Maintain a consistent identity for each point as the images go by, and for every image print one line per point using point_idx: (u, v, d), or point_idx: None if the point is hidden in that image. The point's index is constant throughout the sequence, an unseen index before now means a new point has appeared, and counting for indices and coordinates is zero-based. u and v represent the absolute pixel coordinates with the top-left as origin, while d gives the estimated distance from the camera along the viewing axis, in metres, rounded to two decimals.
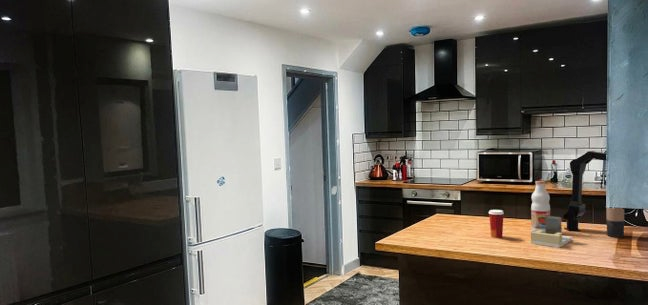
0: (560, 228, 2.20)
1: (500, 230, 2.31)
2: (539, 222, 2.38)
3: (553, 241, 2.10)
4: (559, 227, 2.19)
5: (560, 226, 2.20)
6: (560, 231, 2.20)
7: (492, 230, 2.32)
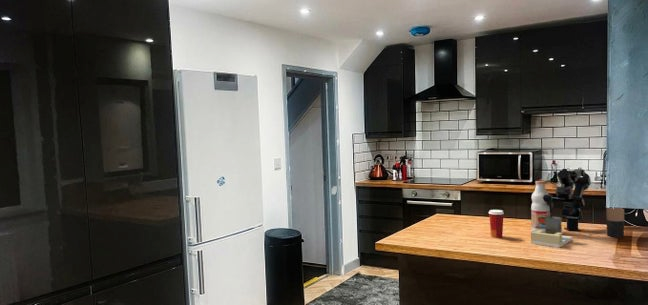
0: (560, 228, 2.20)
1: (500, 230, 2.31)
2: (539, 222, 2.38)
3: (553, 241, 2.10)
4: (559, 227, 2.19)
5: (560, 226, 2.20)
6: (560, 231, 2.20)
7: (492, 230, 2.32)
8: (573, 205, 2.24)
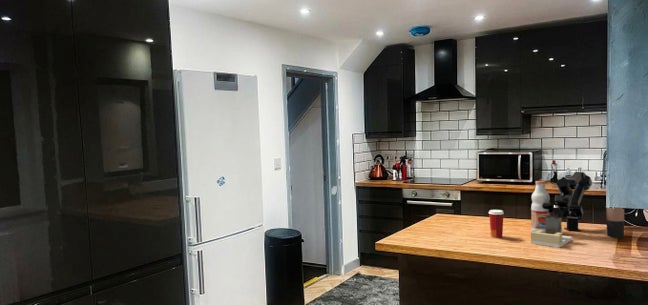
0: (560, 228, 2.20)
1: (500, 230, 2.31)
2: (539, 222, 2.38)
3: (553, 241, 2.10)
4: (559, 227, 2.19)
5: (560, 226, 2.20)
6: (560, 231, 2.20)
7: (492, 230, 2.32)
8: (562, 213, 2.28)
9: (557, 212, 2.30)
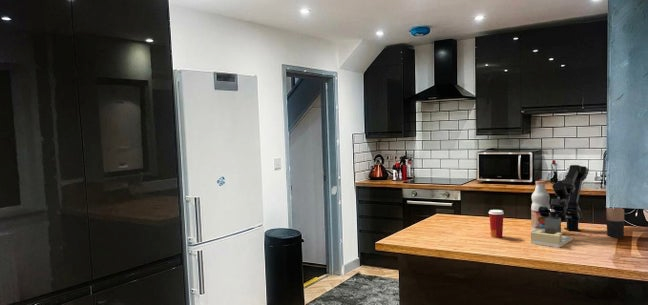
0: (560, 228, 2.20)
1: (500, 230, 2.31)
2: (539, 222, 2.38)
3: (553, 241, 2.10)
4: (559, 227, 2.19)
5: (560, 226, 2.20)
6: (560, 231, 2.20)
7: (492, 230, 2.32)
8: (559, 217, 2.24)
9: (553, 216, 2.26)
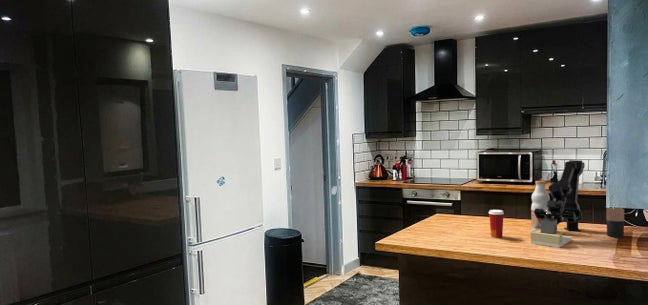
0: (556, 230, 2.16)
1: (500, 230, 2.31)
2: (539, 222, 2.38)
3: (553, 241, 2.10)
4: (555, 229, 2.14)
5: (556, 228, 2.16)
6: None
7: (492, 230, 2.32)
8: None
9: (549, 218, 2.21)
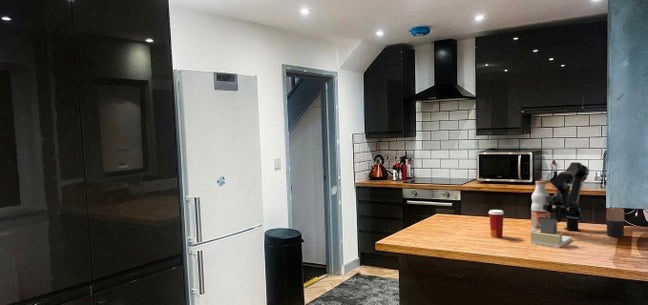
0: (555, 230, 2.15)
1: (500, 230, 2.31)
2: (539, 222, 2.38)
3: (553, 241, 2.10)
4: (554, 229, 2.14)
5: (555, 228, 2.15)
6: None
7: (492, 230, 2.32)
8: (559, 212, 2.26)
9: (555, 212, 2.29)
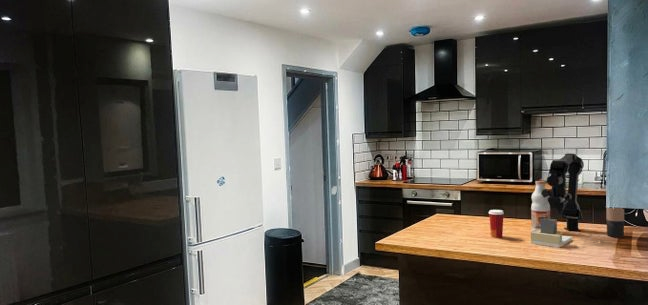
0: (555, 230, 2.15)
1: (500, 230, 2.31)
2: (539, 222, 2.38)
3: (553, 241, 2.10)
4: (554, 229, 2.14)
5: (555, 228, 2.15)
6: None
7: (492, 230, 2.32)
8: None
9: None
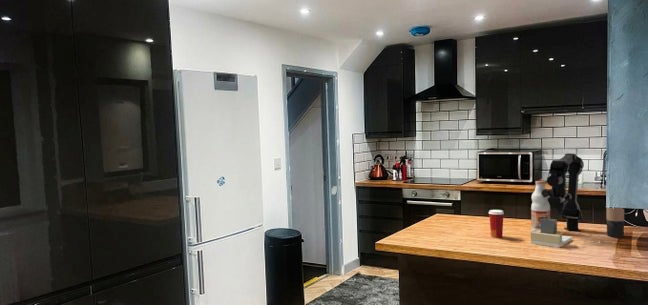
0: (555, 230, 2.15)
1: (500, 230, 2.31)
2: (539, 222, 2.38)
3: (553, 241, 2.10)
4: (554, 229, 2.14)
5: (555, 228, 2.15)
6: None
7: (492, 230, 2.32)
8: None
9: None
